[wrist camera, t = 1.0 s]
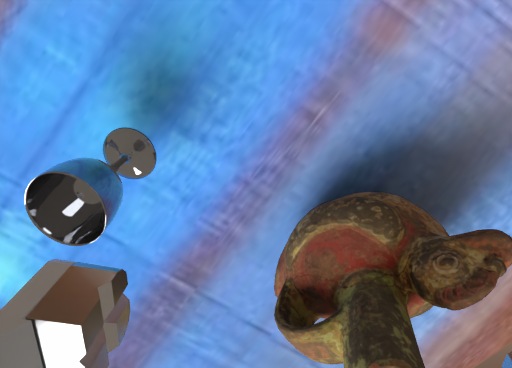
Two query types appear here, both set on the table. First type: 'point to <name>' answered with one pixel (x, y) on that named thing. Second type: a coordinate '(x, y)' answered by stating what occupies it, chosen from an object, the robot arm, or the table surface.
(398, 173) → the table surface
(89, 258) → the table surface
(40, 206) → the wine glass
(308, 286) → the ceramic vessel
